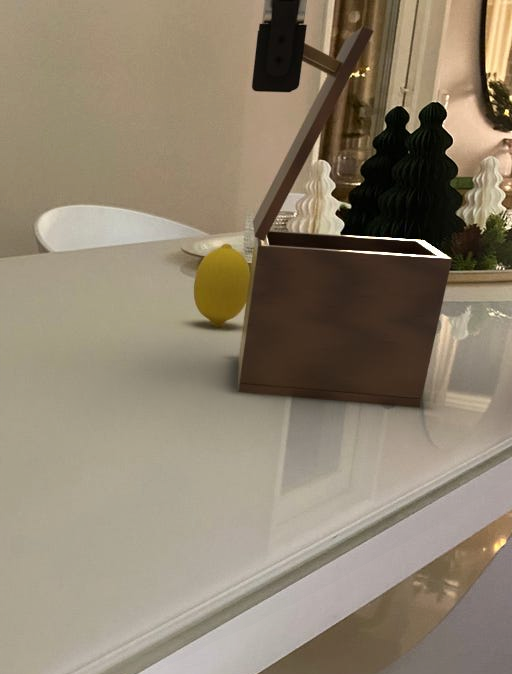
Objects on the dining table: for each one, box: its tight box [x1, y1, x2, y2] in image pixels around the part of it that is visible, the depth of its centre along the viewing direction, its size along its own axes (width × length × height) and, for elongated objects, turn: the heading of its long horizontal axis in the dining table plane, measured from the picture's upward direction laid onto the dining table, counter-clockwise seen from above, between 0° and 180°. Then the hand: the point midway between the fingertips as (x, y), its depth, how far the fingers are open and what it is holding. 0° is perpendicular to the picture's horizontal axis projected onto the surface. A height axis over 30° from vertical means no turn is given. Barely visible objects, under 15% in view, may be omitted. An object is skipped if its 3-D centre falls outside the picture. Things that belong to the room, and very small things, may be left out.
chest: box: [237, 229, 453, 409], centre depth 83 cm, size 14×13×11 cm
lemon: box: [193, 243, 251, 328], centre depth 104 cm, size 6×6×8 cm
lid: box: [252, 25, 374, 241], centre depth 78 cm, size 14×13×6 cm
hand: (274, 88), depth 77 cm, fingers closed on lid, 6 cm apart
